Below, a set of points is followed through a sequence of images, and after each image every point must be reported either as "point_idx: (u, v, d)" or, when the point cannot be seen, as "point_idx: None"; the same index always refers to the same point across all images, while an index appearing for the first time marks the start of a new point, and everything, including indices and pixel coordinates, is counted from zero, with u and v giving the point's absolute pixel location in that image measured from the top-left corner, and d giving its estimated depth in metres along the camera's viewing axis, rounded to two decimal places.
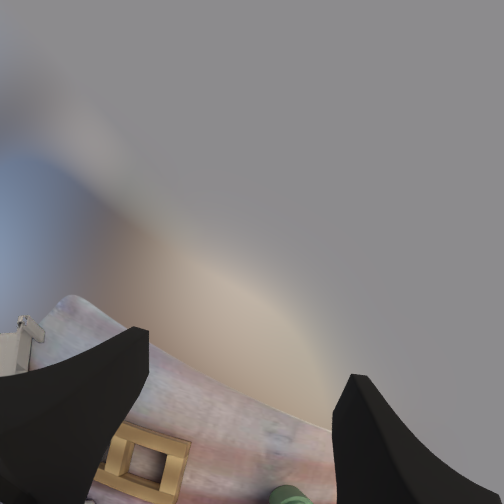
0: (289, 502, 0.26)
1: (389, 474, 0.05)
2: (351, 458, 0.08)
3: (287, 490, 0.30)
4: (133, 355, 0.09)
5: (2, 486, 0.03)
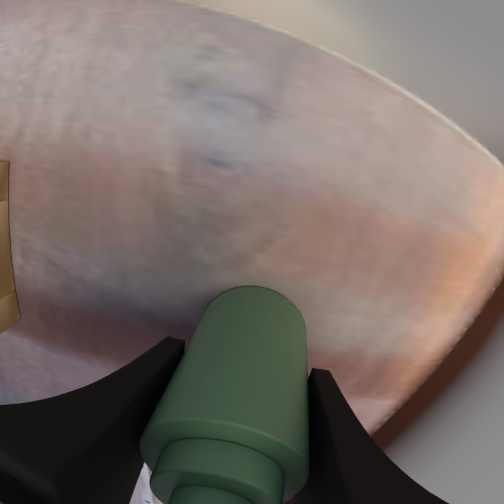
0: (184, 443, 0.06)
1: (333, 472, 0.05)
2: None
3: (226, 332, 0.09)
4: (172, 367, 0.09)
5: None
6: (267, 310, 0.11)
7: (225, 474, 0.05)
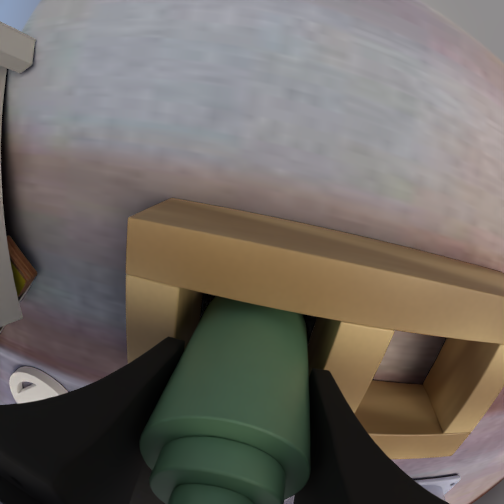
0: (183, 441, 0.06)
1: (334, 473, 0.05)
2: None
3: (227, 330, 0.09)
4: (172, 367, 0.09)
5: None
6: (268, 308, 0.11)
7: (226, 472, 0.05)
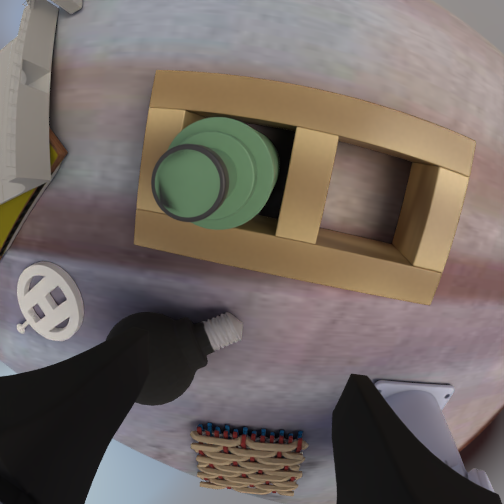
0: None
1: (389, 474, 0.05)
2: (351, 458, 0.08)
3: None
4: (133, 355, 0.09)
5: (2, 486, 0.03)
6: None
7: (219, 134, 0.10)
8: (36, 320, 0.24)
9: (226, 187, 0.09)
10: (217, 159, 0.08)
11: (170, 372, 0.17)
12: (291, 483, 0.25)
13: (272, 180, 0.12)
